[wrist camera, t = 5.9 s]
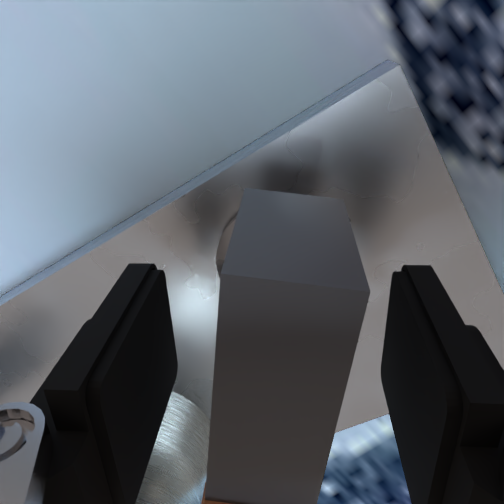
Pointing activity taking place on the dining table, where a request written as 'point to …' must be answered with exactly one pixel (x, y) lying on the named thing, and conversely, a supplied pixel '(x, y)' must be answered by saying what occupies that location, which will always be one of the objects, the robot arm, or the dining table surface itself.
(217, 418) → the knob
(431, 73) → the dining table surface
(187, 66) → the dining table surface
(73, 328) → the plate
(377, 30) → the dining table surface
